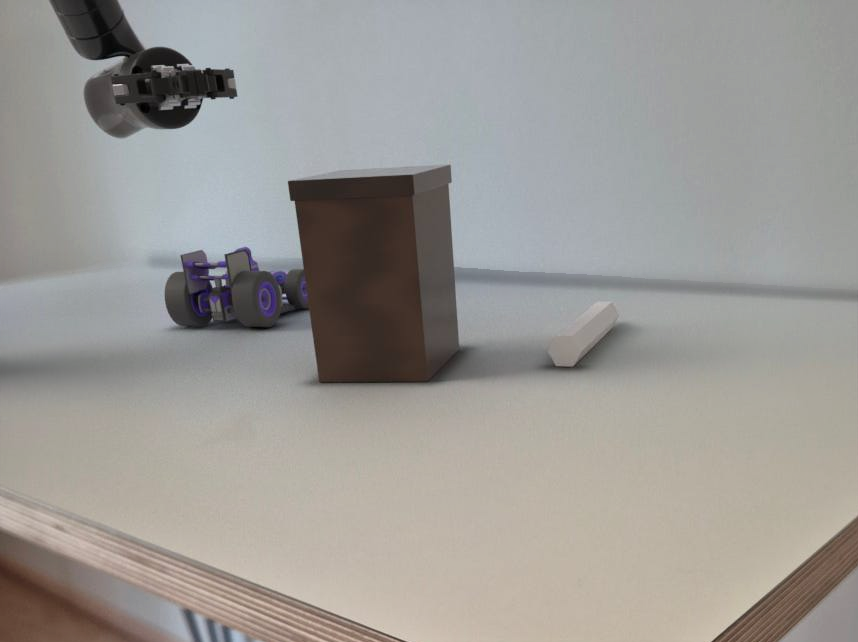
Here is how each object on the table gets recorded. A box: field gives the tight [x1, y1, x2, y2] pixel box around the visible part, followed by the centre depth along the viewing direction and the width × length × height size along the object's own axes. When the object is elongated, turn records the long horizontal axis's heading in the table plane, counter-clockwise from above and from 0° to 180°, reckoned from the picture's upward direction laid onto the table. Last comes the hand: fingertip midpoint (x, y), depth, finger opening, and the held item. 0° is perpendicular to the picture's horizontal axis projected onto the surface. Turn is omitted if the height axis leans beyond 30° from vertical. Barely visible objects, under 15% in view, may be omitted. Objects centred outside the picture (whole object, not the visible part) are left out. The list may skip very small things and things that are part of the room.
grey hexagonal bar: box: [547, 301, 620, 367], centre depth 74 cm, size 3×2×16 cm
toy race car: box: [164, 246, 309, 328], centre depth 92 cm, size 10×15×6 cm, turn 161°
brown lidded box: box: [287, 164, 460, 383], centre depth 69 cm, size 9×10×13 cm
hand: (196, 82), depth 90 cm, fingers closed
